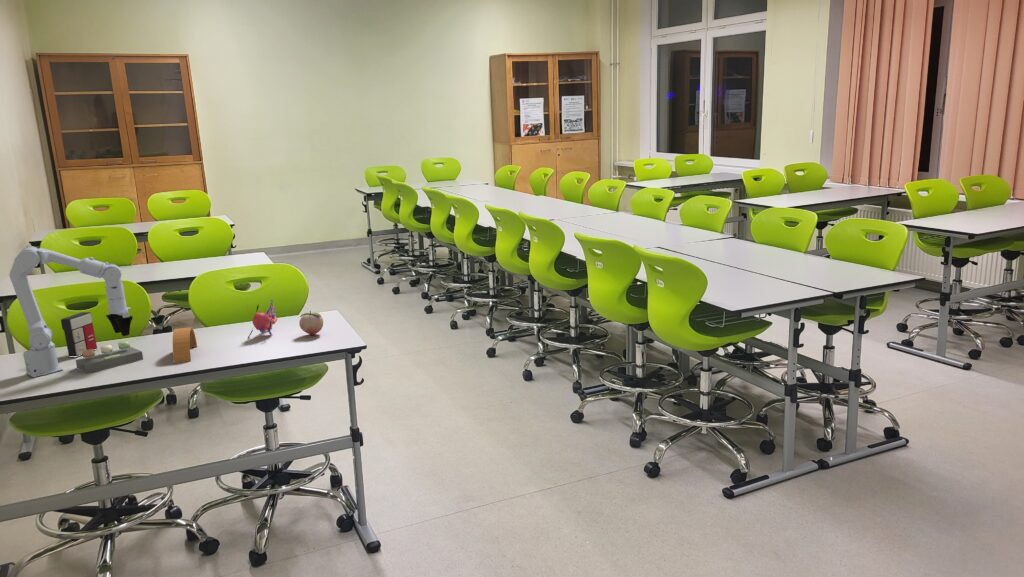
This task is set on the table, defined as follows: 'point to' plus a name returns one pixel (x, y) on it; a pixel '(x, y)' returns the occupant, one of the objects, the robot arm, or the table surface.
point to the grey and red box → (79, 333)
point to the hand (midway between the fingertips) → (122, 334)
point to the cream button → (106, 349)
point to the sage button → (124, 345)
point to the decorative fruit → (311, 323)
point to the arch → (183, 344)
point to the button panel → (109, 359)
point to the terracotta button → (88, 353)
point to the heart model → (264, 320)
